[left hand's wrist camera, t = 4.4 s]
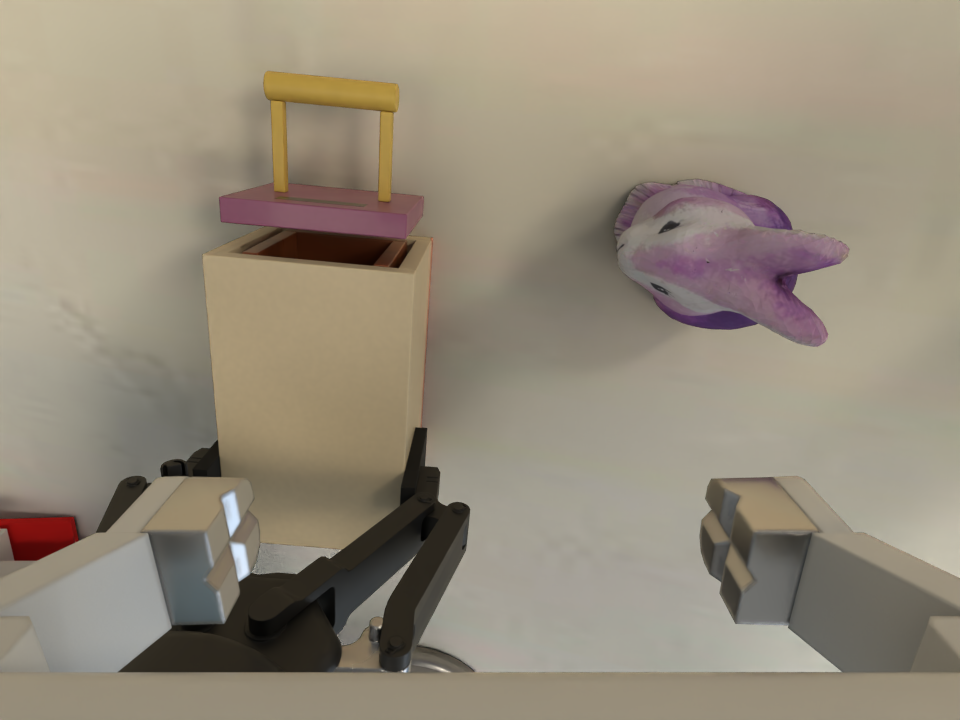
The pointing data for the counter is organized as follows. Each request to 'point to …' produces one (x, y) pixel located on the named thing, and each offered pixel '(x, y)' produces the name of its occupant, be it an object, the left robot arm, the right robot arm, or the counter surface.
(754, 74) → the counter surface
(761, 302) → the figurine
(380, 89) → the drawer
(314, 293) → the beige drawer cabinet
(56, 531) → the toy
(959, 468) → the counter surface
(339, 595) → the right robot arm
